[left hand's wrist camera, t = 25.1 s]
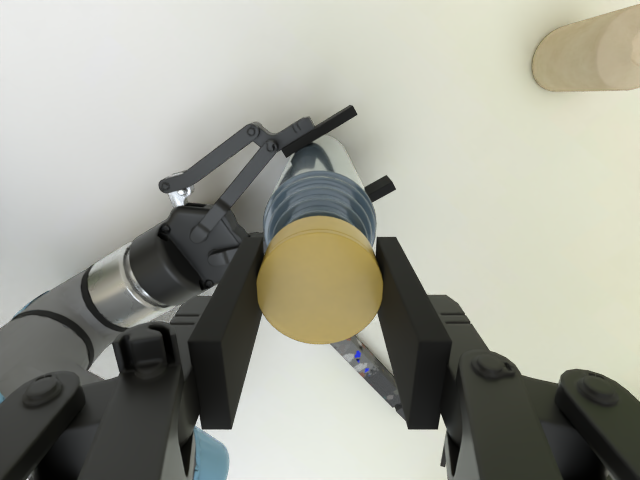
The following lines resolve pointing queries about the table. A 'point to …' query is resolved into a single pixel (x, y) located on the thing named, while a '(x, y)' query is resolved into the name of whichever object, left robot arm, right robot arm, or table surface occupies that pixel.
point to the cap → (319, 281)
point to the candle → (591, 54)
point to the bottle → (320, 190)
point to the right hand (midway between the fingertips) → (372, 147)
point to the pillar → (370, 370)
